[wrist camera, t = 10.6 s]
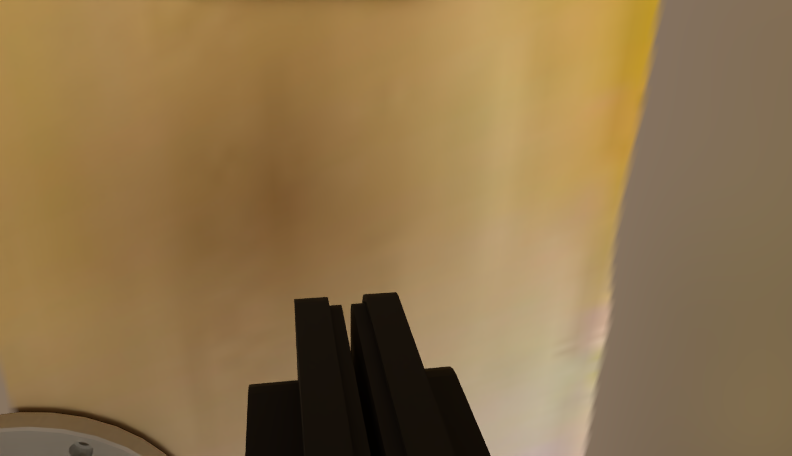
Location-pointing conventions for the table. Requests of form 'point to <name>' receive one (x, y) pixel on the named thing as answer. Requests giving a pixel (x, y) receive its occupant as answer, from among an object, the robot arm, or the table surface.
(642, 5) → the table surface
